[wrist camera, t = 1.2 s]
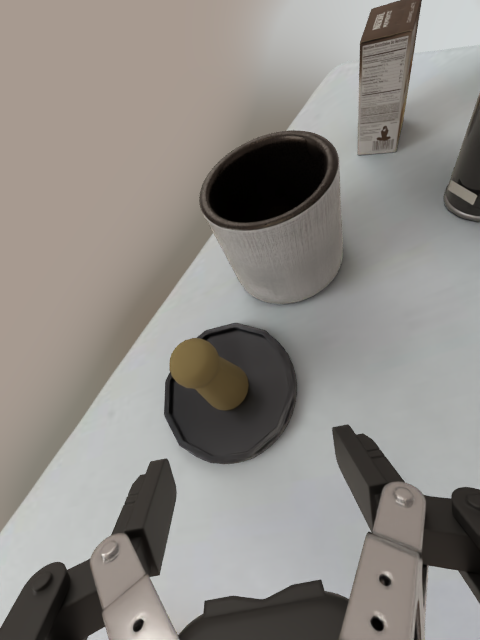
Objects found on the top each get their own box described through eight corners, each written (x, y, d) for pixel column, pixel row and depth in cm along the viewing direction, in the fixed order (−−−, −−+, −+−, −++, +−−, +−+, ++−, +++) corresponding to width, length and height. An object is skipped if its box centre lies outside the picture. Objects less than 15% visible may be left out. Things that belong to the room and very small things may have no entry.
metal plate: (203, 315, 45) (199, 311, 44) (315, 345, 37) (314, 341, 36) (146, 428, 39) (140, 427, 38) (265, 493, 31) (262, 493, 30)
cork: (198, 402, 38) (150, 378, 28) (214, 360, 40) (174, 325, 31) (239, 416, 35) (201, 394, 26) (254, 370, 37) (223, 335, 28)
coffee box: (365, 123, 54) (370, 6, 40) (404, 118, 51) (423, -9, 38) (356, 156, 51) (359, 41, 37) (397, 153, 48) (416, 27, 34)
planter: (252, 226, 51) (219, 140, 38) (349, 221, 44) (348, 116, 32) (228, 304, 45) (178, 233, 32) (336, 312, 38) (329, 227, 25)
